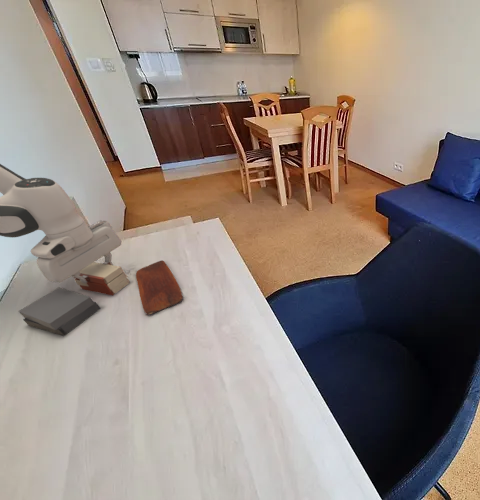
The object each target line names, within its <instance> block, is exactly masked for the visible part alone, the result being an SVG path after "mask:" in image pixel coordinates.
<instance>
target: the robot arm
mask: <svg viewBox="0 0 480 500" xmlns="http://www.w3.org/2000/svg"><path fill="white" fill-rule="evenodd" d="M0 193H1V194H2V195H1V196H0V237H4V238H19V237H22V236H26V235H29V234H32V233H35V232H37V231H42V232H43V234H44V235H45V236H43V238H42V239H40V241H38V243H36V244H35V245H34V246H33V247H32V248H31V249H30V254H31V255H32V256H34V257H36V258H37V259H36V265H37V267H38V269H39V270H40V272H41V273H42V275H43V276H44V278H45V279H46V280H47V281H49V282H52V283H58V284H59V283H63V282H65V281H66V280H68V279H69V278H72V277H73V278H74V277H75V278H78V279H80V281H81V282H82V283H85V284H86V283H87V282H89V281H90V279H89V277H88V276H85V275H83V276H79V275H80V272H79V271H80V270H82V269H84V268H85V267H87V266H88V265H90V264H92V263H93V262H96V261H99V260H100V259H101V258H103V257H104V261H103V263H102V264H108V265H114V263H113V261H112V253H111V252H113V251H114V250H116V249H117V248H119V247H121V246H122V243H123V242H122V239H121V238H120V236H119V235H118V233H116V231H115V230H114V229H113V226H112V225H111V223H110V222H109V221H108V220H101V219H100V220H98V221H96V222H94V223H93V224H92V223H91V224H90V225H88V224H87V221H85V219H84V217H82V216H81V215H80V214H79V213H78V211H77V207H76V205H75V203H74V202H73V200H72V199H71V198H70V196H69V195H68V193H67V192H66V190H64V188H63V187H62V186H61V185H60V184H59V183H58V182H56V181H55V180H53V179H52V178H47V177H30V178H25V177H23V176H21V175H19V174H18V173H16V172H15V171H13V170H11V169H10V168H8V167H6V166H5V165H3V164H1V163H0ZM75 278H74V279H75Z"/></svg>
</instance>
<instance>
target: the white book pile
mask: <svg viewBox="0 0 480 500" xmlns="http://www.w3.org/2000/svg"><path fill="white" fill-rule="evenodd" d="M74 282H75V283H76V284H77V285H78V286H79V287H80V288H81V289H82V290H84V291H88V292H93V293H98V294H102V295H108V296H113V297H114V296H115V294H117V293H119V291H121V290H122V289H124V288H125V287H126V286H127V285H129V284H130V283H131V282H130V280H129V278H128V276H127V274H126V272H125V271H124V272H123V273H121V274H120V275H119V276H117V277H116V278H114V279H113V280H111V281H110V282H109V283H107V284H106V285H105V284H100V283H95V282H90V281H89V282H87V283H86V284H85V283H82V282H81V281H80V279H75V278H74Z"/></svg>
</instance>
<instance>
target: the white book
mask: <svg viewBox="0 0 480 500" xmlns="http://www.w3.org/2000/svg"><path fill="white" fill-rule="evenodd" d="M79 272H80V275H79V276H83V275H85V276H88V277H89V279H90V282H95V283H100V284H105V285H106V284H107V283H109V282H110V281H111V280H113V279H114V278H116V277H117V276H119V275H120V274H121V273H123V272H125V271H124V269H123V268H122V266H119V265H114V264H113V265H108V264H103V263H102V262H96V261H95V262H93V263H92V264H90V265H88V266H87V267H85V268H84V269H82V270H80V271H79ZM73 279H74V280H75V279H78V278H75V277H73Z"/></svg>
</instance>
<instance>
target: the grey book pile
mask: <svg viewBox="0 0 480 500" xmlns="http://www.w3.org/2000/svg"><path fill="white" fill-rule="evenodd" d="M99 310H101V307H100V305H99V304H98V303H97V301H94V299H92V297H91V296H89V295H87V294H86V295H85V294H82V293H79V292H77V291H73V290H70V289H67V288H64V287H60V286H58V287H57V288H55V289H53V290H51V291H50V292H48V293H46V294H45V295H43V296H42V297H40V298H38V299H36V300H35V301H33V302H30V304H28V305H26V306H24V307H23V308H21V309H19V310H18V311H17V312H18V313H19V314H20V315H21V316H22V317H23V319H22V320H23V322H25V324H27V326H29V327H31V328H35V329H39V330H41V331H44V332H49V333H51V334H52V333H53V334H57V335H60V336H63V337H65V336H66V335H67V334H69V333H70V332H72V331H73V330H75V328H77V327H78V326H80V325H81V324H82V323H83V322H85V321H86V320H88V318H90V317H91V316H93V315H94V314H95V313H96V312H98V311H99Z"/></svg>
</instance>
